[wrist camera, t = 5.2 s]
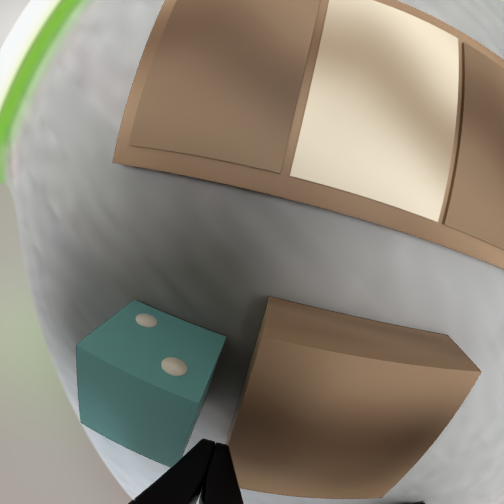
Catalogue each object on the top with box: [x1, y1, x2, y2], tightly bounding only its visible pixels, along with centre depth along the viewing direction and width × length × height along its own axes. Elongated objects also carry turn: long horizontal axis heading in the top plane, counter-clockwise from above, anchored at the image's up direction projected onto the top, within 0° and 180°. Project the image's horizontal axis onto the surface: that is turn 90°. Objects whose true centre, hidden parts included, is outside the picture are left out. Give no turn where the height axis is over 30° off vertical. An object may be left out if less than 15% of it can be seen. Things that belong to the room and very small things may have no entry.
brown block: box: [226, 296, 481, 499], centre depth 10 cm, size 8×8×3 cm
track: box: [113, 0, 504, 269], centre depth 8 cm, size 9×23×1 cm, turn 77°
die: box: [76, 300, 226, 467], centre depth 10 cm, size 4×4×4 cm
